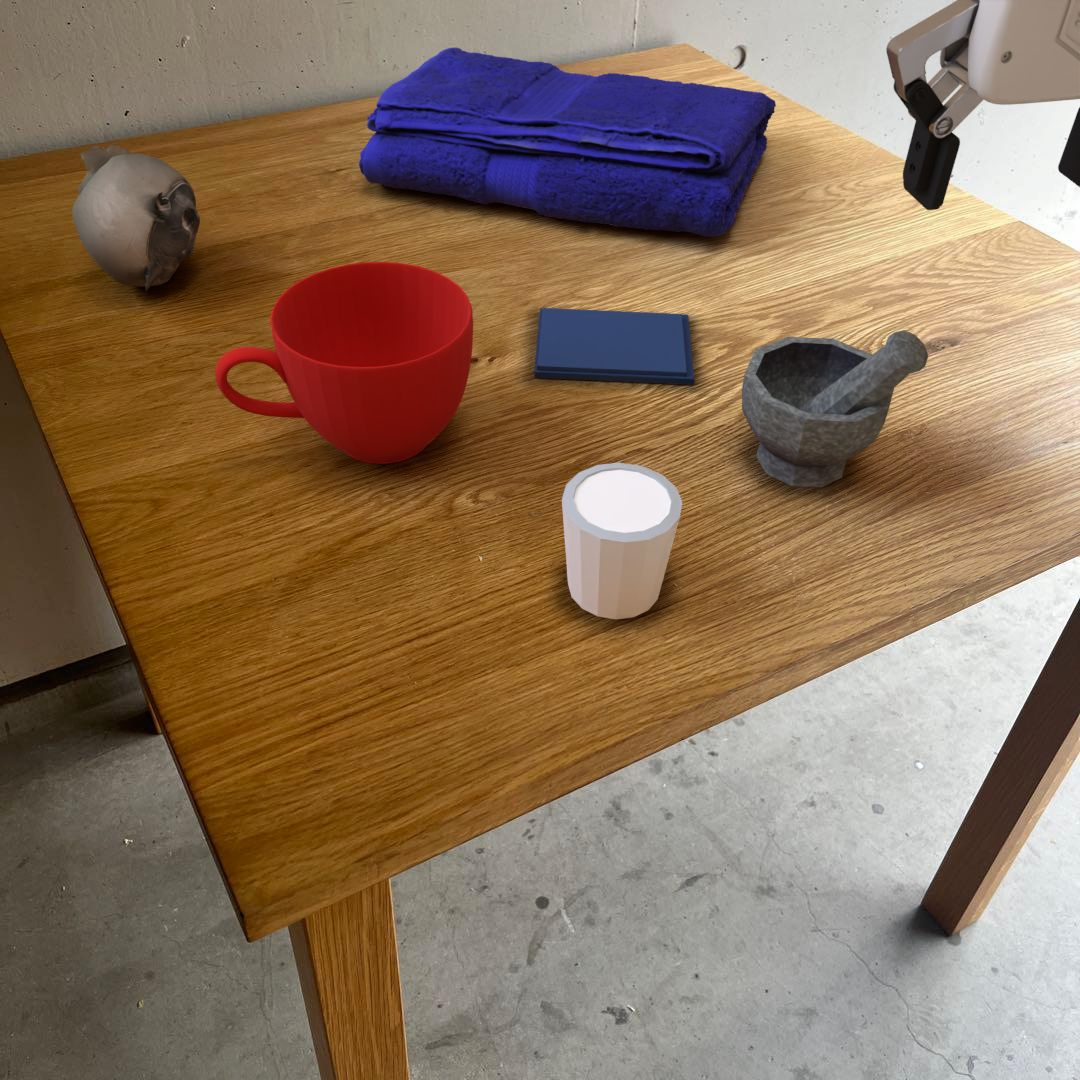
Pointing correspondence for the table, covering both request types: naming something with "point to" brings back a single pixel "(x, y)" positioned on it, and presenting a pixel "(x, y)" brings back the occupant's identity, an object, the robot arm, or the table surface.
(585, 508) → the beige tapered cup
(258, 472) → the table surface
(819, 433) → the mortar and pestle
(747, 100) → the towel
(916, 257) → the table surface
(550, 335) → the blue flat slab
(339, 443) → the ceramic cup
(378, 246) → the table surface
